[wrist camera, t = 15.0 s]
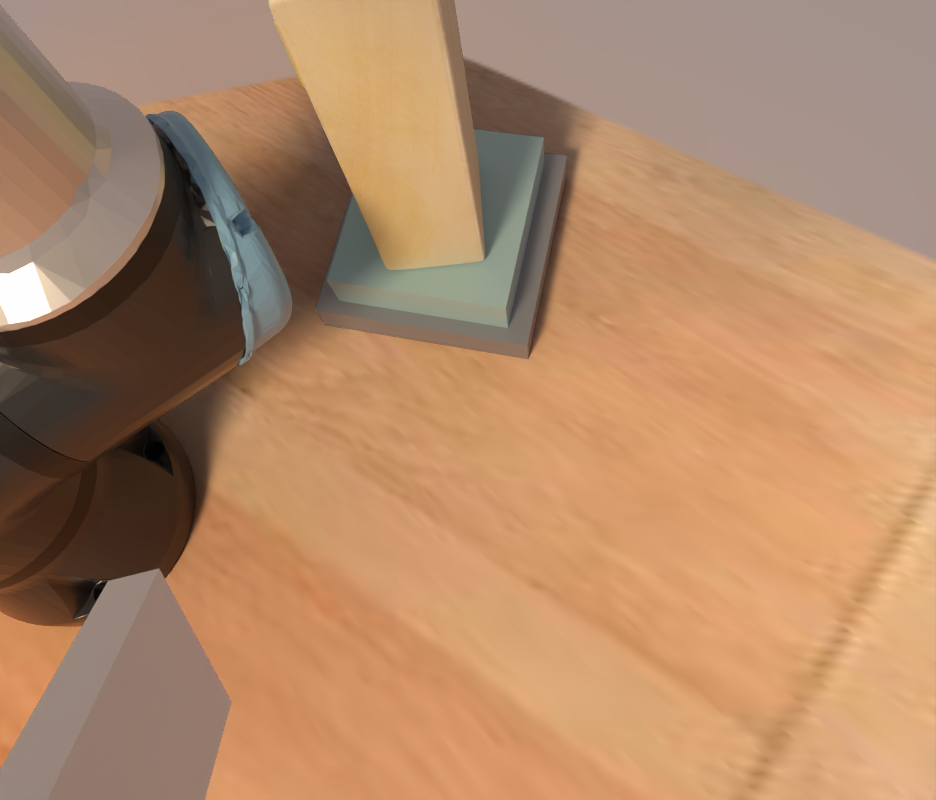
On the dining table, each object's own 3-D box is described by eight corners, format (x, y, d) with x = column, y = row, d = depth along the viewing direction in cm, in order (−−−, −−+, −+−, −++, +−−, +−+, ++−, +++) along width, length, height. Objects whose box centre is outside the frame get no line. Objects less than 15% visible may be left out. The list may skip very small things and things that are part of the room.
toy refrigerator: (373, 170, 49) (257, -143, 29) (479, 159, 49) (433, -168, 29) (374, 274, 47) (248, 7, 27) (486, 263, 46) (441, -18, 26)
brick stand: (325, 324, 52) (301, 290, 47) (377, 152, 56) (360, 103, 51) (527, 359, 50) (526, 326, 44) (566, 176, 54) (568, 127, 49)
